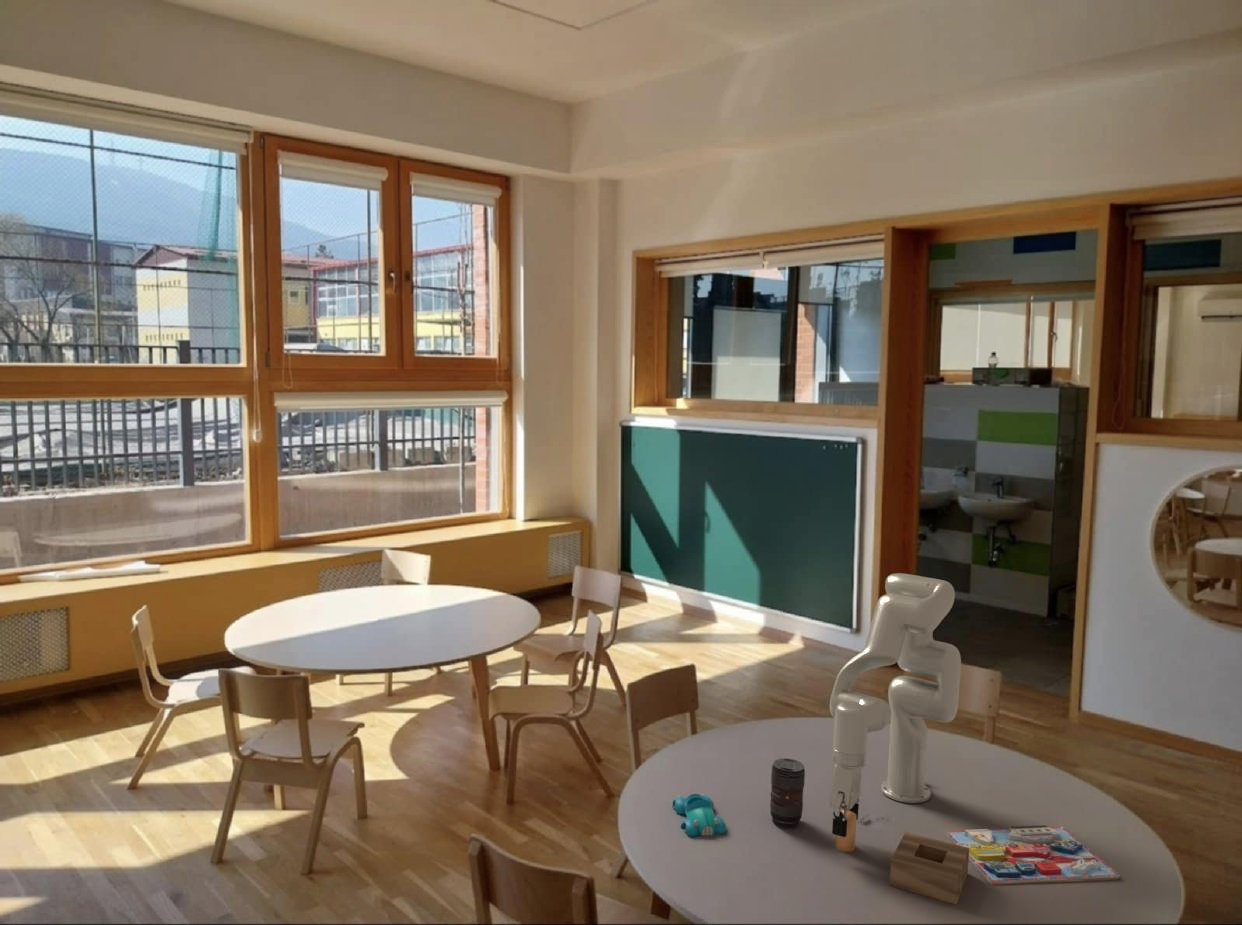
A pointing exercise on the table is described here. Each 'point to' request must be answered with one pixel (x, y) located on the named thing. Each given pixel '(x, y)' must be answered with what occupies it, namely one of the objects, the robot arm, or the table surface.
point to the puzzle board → (1031, 855)
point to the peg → (848, 834)
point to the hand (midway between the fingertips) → (845, 826)
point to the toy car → (699, 815)
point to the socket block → (929, 867)
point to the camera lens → (787, 792)
